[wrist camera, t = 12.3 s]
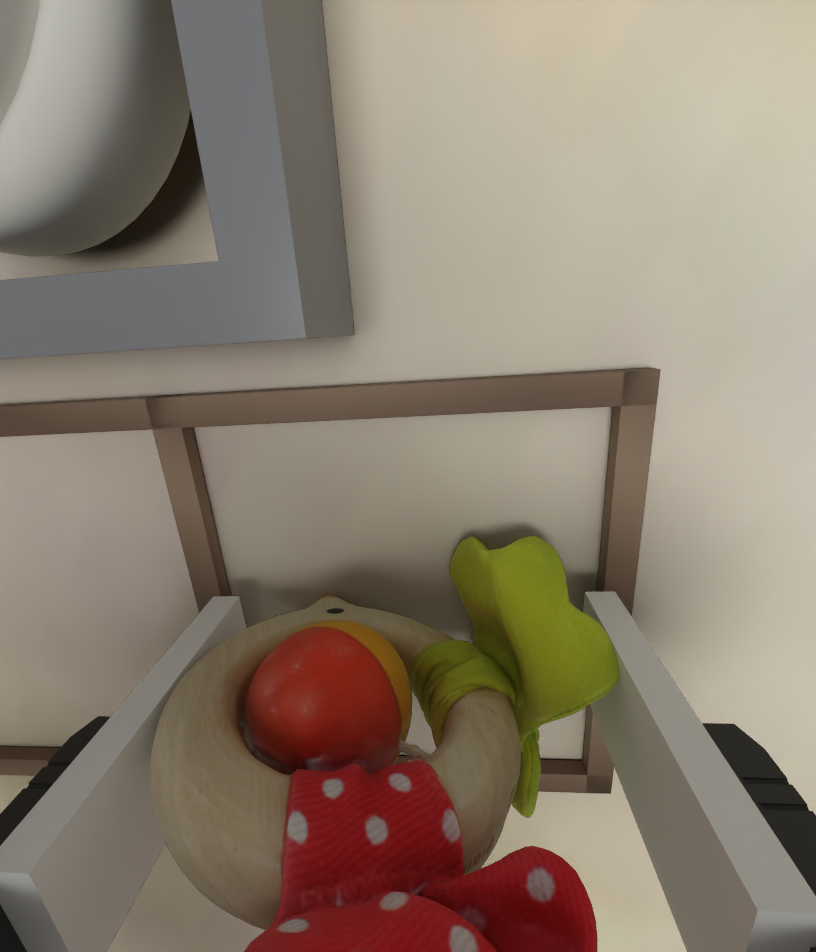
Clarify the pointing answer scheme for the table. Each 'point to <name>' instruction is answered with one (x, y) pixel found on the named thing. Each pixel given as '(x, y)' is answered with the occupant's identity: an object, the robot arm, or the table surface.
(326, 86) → the dome housing
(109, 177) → the dome
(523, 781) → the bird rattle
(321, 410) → the frame
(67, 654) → the table surface
